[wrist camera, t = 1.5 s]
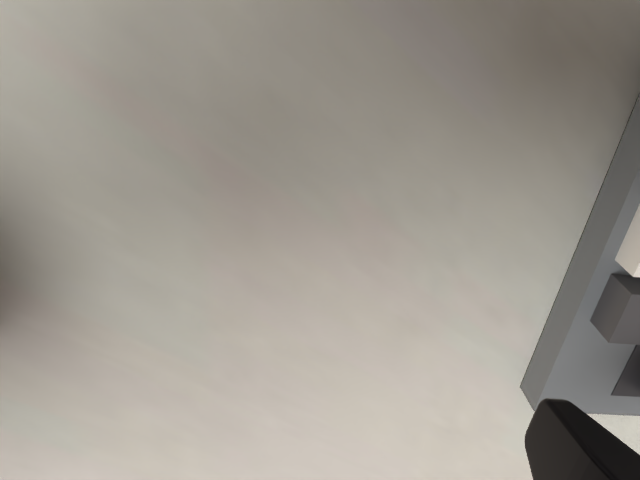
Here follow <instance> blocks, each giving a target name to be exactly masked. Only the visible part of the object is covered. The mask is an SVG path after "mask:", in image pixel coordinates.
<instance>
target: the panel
mask: <svg viewBox="0 0 640 480" xmlns="http://www.w3.org/2000/svg"><path fill="white" fill-rule="evenodd" d="M520 388H521V389H522V391H523V393H524V395H525V396H526V398H527V400H528V402H529V403H530V405H531V407H532V409H533V410H534V411H536V409H537V406H538V404H539V402H540V401H541V400H543V399H545V398H552V399H565V400H568V401H570V402H572V403H573V404H574V405H576V406H577V407H578V408H579V409H581V410H582V411H583V412H585V413H588V414H610V415H633V416H640V94H639V97H638V99H637V101H636V104H635V106H634V109H633V111H632V114H631V116H630V119H629V121H628V124H627V126H626V128H625V131H624V133H623V136H622V138H621V141H620V143H619V146H618V148H617V151H616V153H615V155H614V158H613V160H612V163H611V165H610V168H609V170H608V173H607V175H606V178H605V180H604V182H603V185H602V187H601V190H600V192H599V195H598V197H597V200H596V202H595V204H594V207H593V209H592V212H591V214H590V217H589V219H588V222H587V224H586V227H585V229H584V231H583V234H582V236H581V239H580V241H579V244H578V246H577V249H576V251H575V254H574V256H573V258H572V261H571V263H570V266H569V268H568V271H567V273H566V276H565V278H564V281H563V283H562V285H561V288H560V290H559V293H558V295H557V298H556V300H555V303H554V305H553V308H552V310H551V312H550V315H549V317H548V320H547V322H546V325H545V327H544V330H543V332H542V335H541V337H540V339H539V342H538V344H537V347H536V349H535V352H534V354H533V357H532V359H531V362H530V364H529V366H528V369H527V371H526V374H525V376H524V379H523V381H522V384H521V386H520Z"/></svg>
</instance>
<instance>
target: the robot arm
mask: <svg viewBox="0 0 640 480" xmlns="http://www.w3.org/2000/svg"><path fill="white" fill-rule="evenodd" d="M525 448H526V453H527V457H528V461H529V465H530V468H531V472H532V476H533V480H640V455H639V454H637V453H636V452H635V451H634V450H632V449H631V448H630V447H628V446H627V445H626V444H625V443H623V442H622V441H621V440H619V439H618V438H617V437H616V436H614V435H613V434H612V433H610V432H609V431H608V430H607V429H605V428H604V427H603V426H601V425H600V424H599V423H597V422H596V421H595V420H594V419H592V418H591V417H590V416H588V415H587V414H586V413H585V412H583V411H582V410H581V409H579V408H578V407H577V406H576V405H574V404H573V403H572V402H570V401H568V400H565V399H552V398H545V399H543V400H541V401H540V402H539V404H538V406H537V409H536V411H535V413H534V415H533V418H532V420H531V422H530V424H529V427H528V429H527V431H526V435H525Z"/></svg>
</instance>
